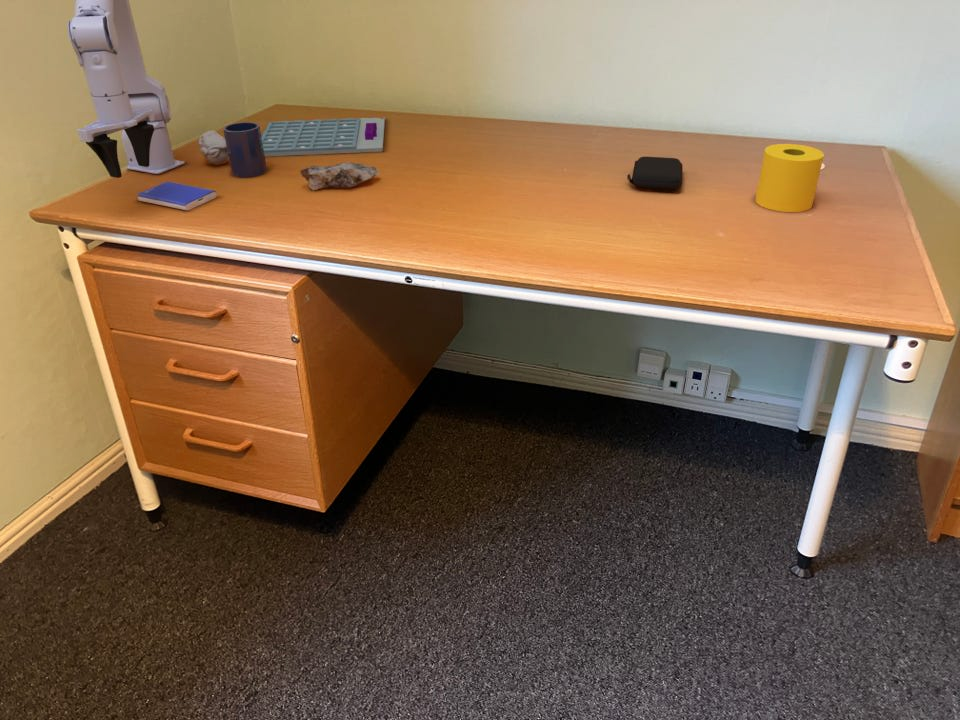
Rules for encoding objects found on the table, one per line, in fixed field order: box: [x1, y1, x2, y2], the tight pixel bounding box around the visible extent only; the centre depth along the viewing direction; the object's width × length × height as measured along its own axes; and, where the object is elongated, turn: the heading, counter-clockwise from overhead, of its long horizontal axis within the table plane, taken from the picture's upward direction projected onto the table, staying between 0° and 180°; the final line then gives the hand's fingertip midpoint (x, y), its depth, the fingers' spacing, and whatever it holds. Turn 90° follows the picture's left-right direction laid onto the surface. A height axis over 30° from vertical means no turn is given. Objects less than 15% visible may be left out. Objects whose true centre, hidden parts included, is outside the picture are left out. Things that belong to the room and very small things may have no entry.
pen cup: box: [222, 121, 268, 179], centre depth 157 cm, size 7×7×10 cm
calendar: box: [261, 116, 386, 158], centre depth 180 cm, size 27×29×2 cm
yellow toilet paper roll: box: [755, 143, 825, 213], centre depth 138 cm, size 10×10×9 cm
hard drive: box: [137, 181, 218, 212], centre depth 146 cm, size 2×8×12 cm
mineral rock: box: [300, 161, 380, 192], centre depth 151 cm, size 15×8×4 cm, turn 92°
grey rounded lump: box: [198, 130, 229, 166], centre depth 163 cm, size 6×7×7 cm
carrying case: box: [626, 156, 684, 193], centre depth 151 cm, size 11×3×15 cm
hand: (130, 171), depth 135 cm, fingers open, 6 cm apart
